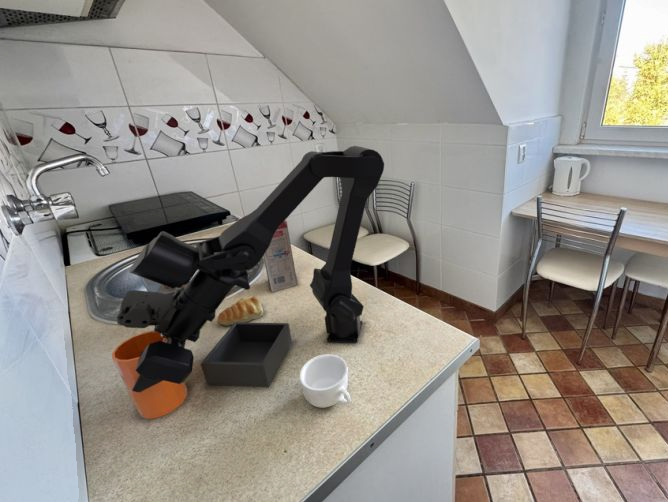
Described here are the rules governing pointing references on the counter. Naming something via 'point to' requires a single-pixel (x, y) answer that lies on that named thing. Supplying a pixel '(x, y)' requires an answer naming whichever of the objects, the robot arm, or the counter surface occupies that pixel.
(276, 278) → the juice carton
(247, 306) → the pastry
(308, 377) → the teacup
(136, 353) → the orange cup
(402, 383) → the counter surface
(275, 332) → the basket
